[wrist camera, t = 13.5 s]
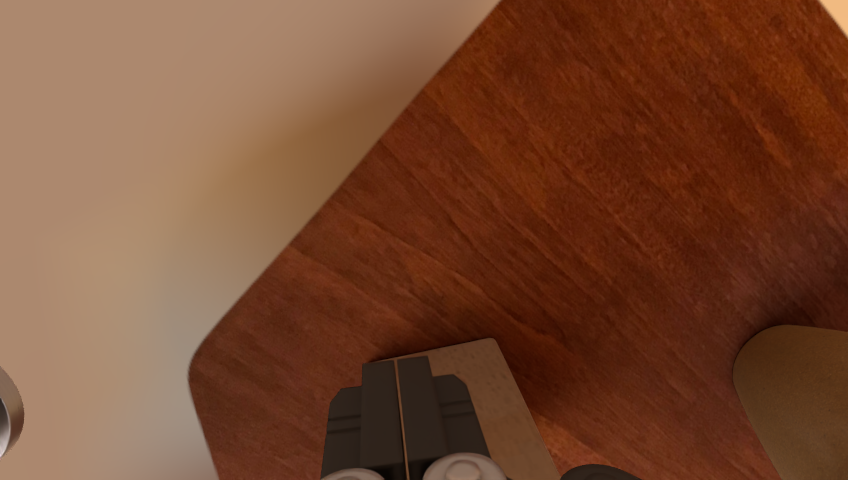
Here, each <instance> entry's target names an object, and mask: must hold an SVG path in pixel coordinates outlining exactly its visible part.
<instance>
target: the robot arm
mask: <svg viewBox="0 0 848 480" xmlns="http://www.w3.org/2000/svg"><path fill="white" fill-rule="evenodd" d="M397 366H398V376H399V386H400V395H401V405H402V414H403V424H404V433H405V443H406V452H407V462H408V471H409V479H410V480H512V479H510V478H509V477H507V476H505V474H504V472H503V470H502V469H501V467H500V466H499V465H498V464H497V463H496V462H495V461H493V460H492V459H491V456H490V453H489V450H488V447H487V444H486V441H485V438H484V435H483V432H482V429H481V426H480V423H479V420H478V417H477V414H476V412H475V408H474V405H473V402H472V400H471V396H470V393H469V390H468V387H467V385H466V384H465V383H464V382H463V381H461V380H460V379H459V378H458V377H457V376H455V375H454V374H448V375H441V376H432V372H431V367H430V363H429V358H428V355H426V356H418V357H410V358H402V359H397ZM320 480H407V473H406V463H405V452H404V443H403V433H402V424H401V415H400V407H399V398H398V390H397V381H396V372H395V364H394V360H388V361H380V362H372V363H364V364H363V365H362V386H358V387H351V388H343V389H341V390H340V391H339V392H338V393H337V395H336V396H335V397H334V399H333V400H332V401H331V403H330V407H329V415H328V423H327V435H326V439H325V447H324V455H323V463H322V471H321V479H320ZM560 480H642V479H640V478H638V477H636V476H633V475H631V474H629V473H627V472H625V471H623V470H620V469H618V468H615V467H611V466H607V465H599V464H589V465H582V466H578V467H575V468H573V469H571V470H569V471H568V472H566V473H565V474H564V475H563V476H562V477H561V478H560Z"/></svg>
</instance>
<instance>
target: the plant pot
mask: <svg viewBox="0 0 848 480" xmlns="http://www.w3.org/2000/svg"><path fill="white" fill-rule="evenodd" d="M733 383H734V386H735V389H736V391H737V394H738V396H739V399H740V401H741V403H742V405H743V408H744V410H745V412H746V414H747V417H748V419H749V421H750V423H751V425H752V427H753V429H754V431H755V433H756V435H757V436H758V438H759V440H760V442H761V444H762V446H763V448H764V449H765V451H766V453H767V455H768V456H769V458H770V460H771V462H772V463H773V465H774V467H775V469H776V470H777V472H778V474H779V475H780V477H781V478H782V480H848V332H844V331H838V330H831V329H824V328H816V327H807V326H797V325H779V326H773V327H770V328H767V329H765V330H763V331H761V332H759V333H758V334H756V335H755V336H753V337H752V338H751V339H750V340H749V341H748V342H747V343H746V344H745V345H744V346H743V347H742V349H741V350H740V352H739V354H738V355H737V358H736V360H735V363H734V366H733Z"/></svg>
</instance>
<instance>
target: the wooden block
mask: <svg viewBox="0 0 848 480" xmlns="http://www.w3.org/2000/svg"><path fill="white" fill-rule="evenodd" d="M426 355H428V358H429V363H430V367H431V372H432V376H441V375H448V374H454V375H455V376H457V377H458V378H459V379H460V380H461V381H463V382H464V383H465V384H466V385H467V387H468V390H469V393H470V396H471V400H472V402H473V405H474V408H475V412H476V414H477V417H478V420H479V423H480V426H481V429H482V432H483V435H484V438H485V441H486V444H487V447H488V450H489V453H490V456H491V459H492V460H493V461H495V462H496V463H497V464H498V465H499V466H500V467H501V469H502V470H503V472H504V474H505V476H507V477H509V478H510V479H512V480H560V478H561V477H560V475H559V472H558V470H557V468H556V466H555V464H554V462H553V460H552V458H551V456H550V453H549V451H548V449H547V447H546V445H545V443H544V441H543V439H542V437H541V434H540V432H539V430H538V428H537V426H536V424H535V422H534V420H533V418H532V416H531V413H530V411H529V409H528V407H527V405H526V403H525V401H524V399H523V397H522V394H521V392H520V390H519V388H518V386H517V384H516V382H515V380H514V378H513V375H512V373H511V371H510V369H509V367H508V365H507V363H506V361H505V359H504V357H503V354H502V352H501V350H500V348H499V346H498V344H497V342H496V341H495V339H493V338H486V339H482V340H477V341H472V342H467V343H462V344H457V345H453V346H448V347H443V348H438V349H433V350H429V351H424V352H419V353H414V354H409V355H405V356H400V357H395V358H390V359H385V360H381V361H388V360H394V364H395V372H396V381H397V390H398V398H399V407H400V415H401V424H402V433H403V443H404V452H405V463H406V473H407V480H410V479H409V471H408V462H407V452H406V443H405V433H404V424H403V414H402V405H401V395H400V386H399V376H398V366H397V359H402V358H410V357H418V356H426ZM376 362H380V361H376ZM371 363H372V362H371Z"/></svg>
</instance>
